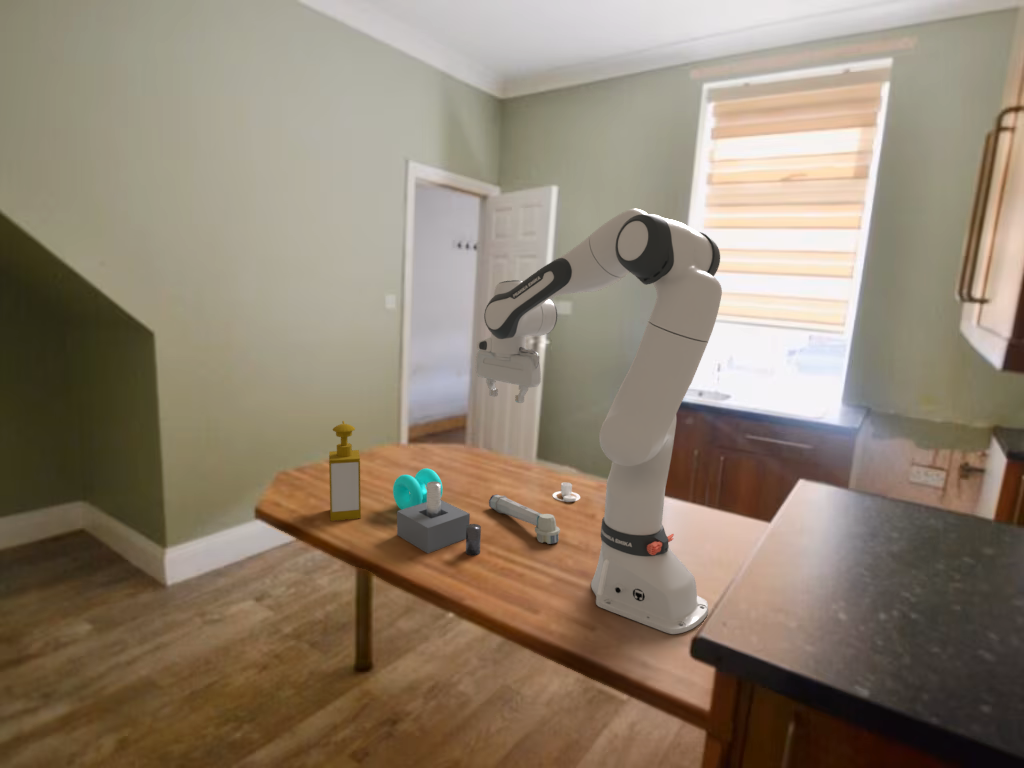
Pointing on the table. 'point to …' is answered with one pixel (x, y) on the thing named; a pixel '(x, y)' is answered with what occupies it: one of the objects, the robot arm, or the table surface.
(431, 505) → the long pin
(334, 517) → the soap bottle
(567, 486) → the teacup and saucer
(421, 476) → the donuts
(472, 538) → the short pin
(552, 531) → the toothbrush head
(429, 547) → the hole block
